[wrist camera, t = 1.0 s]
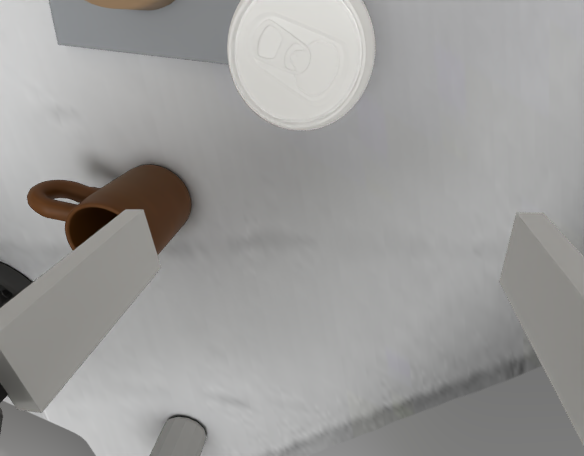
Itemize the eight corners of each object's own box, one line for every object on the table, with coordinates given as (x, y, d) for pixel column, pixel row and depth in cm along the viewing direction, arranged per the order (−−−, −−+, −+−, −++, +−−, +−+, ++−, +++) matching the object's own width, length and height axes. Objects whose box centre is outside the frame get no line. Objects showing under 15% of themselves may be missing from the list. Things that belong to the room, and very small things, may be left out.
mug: (82, 191, 39) (10, 235, 31) (90, 129, 36) (11, 160, 28) (183, 238, 40) (139, 293, 32) (202, 182, 37) (158, 228, 28)
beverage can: (337, 115, 31) (326, 162, 21) (253, 69, 30) (198, 93, 20) (391, 18, 27) (410, 15, 17) (295, -38, 26) (254, -77, 16)
